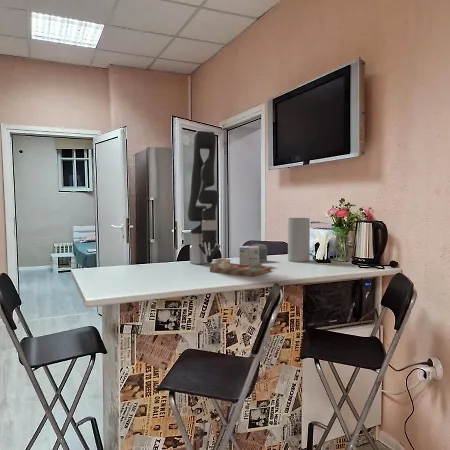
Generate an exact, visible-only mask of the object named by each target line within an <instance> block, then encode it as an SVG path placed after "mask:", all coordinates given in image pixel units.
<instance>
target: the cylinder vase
mask: <svg viewBox="0 0 450 450" xmlns="http://www.w3.org/2000/svg"><path fill="white" fill-rule="evenodd" d="M310 219H311V218H310V217H288V218H287V260H288V262H291V261H292V262H291V263H306V262H307V263H308V262H309V261H310V259H311V258H310V257H311V256H310V252H311V251H310V247H311V246H310V245H311V244H310V242H311V241H310V238H311V237H310V231H311V229H310V226H311V225H310Z"/></svg>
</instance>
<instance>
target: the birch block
mask: <svg viewBox="0 0 450 450" xmlns="http://www.w3.org/2000/svg"><path fill="white" fill-rule="evenodd" d="M230 263H231V259H230V258H215V259H213V267H214V268H221V269H225V268H229V267H230Z"/></svg>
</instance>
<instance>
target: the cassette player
mask: <svg viewBox="0 0 450 450" xmlns="http://www.w3.org/2000/svg"><path fill="white" fill-rule="evenodd" d="M248 246H259V261H261V262H268V247H267V246H268V245H265V244H263V243H260V244H259V243H258V244H249V245H248Z"/></svg>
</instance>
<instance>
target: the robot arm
mask: <svg viewBox="0 0 450 450" xmlns="http://www.w3.org/2000/svg"><path fill="white" fill-rule="evenodd" d="M193 137H194V138H193V139H194V140H193V162H192V170H191V184H190V196H189V203H188V209H187V218H188V220H189V222H199V224H198V225H195V226H193V227H192V228H191V229H190V242H191V243H190V246H189V263H190V264H193V265H203V264H204V265H205V264H212V263H213V262H214V259H213V257H214V255H217V253H218V251H219V249H221V246H222V245H220V244H218V241H217V238H218V237H217V236H218V235H217V220H216V219H217V205H218V202H219V198H220V195H219V192H218V191H217V190H216V189H209V190H207V188H210V187H214V186H215V159H216V157H215V156H216V147H217V146H216V145H217V144H216V143H217V137H216V134H215V132H214V131H207V130H196V132H195V133H194V136H193ZM201 150H208V155H207V158H206V159H205V161H204V160H203V157H202V156H201ZM197 202H199V204H201V205H199V204H198V205H197ZM207 205H211V206H210V207H207Z"/></svg>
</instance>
